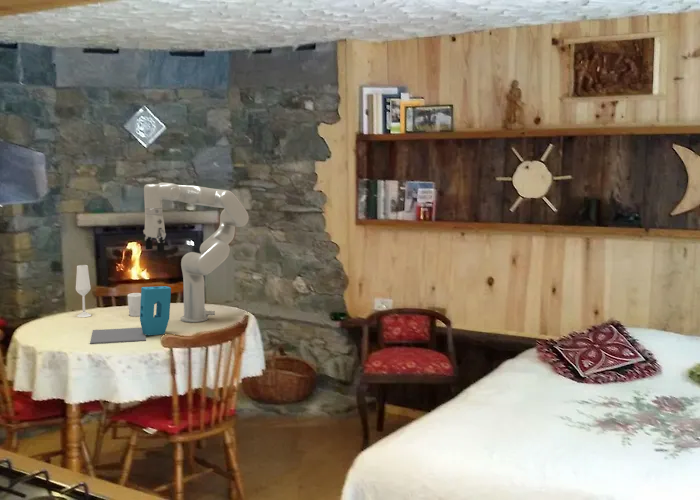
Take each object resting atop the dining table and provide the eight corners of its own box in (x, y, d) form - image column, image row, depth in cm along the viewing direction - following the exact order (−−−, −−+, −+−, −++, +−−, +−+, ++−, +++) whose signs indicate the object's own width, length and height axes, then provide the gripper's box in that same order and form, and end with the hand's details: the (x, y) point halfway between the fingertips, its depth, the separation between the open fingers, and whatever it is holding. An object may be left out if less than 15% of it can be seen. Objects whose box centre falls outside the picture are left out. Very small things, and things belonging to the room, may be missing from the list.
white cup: (148, 314, 365) (148, 294, 364) (136, 317, 359) (135, 296, 357) (137, 312, 369) (136, 292, 368) (124, 315, 363) (123, 294, 361)
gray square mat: (145, 328, 337) (145, 327, 337) (145, 340, 316) (145, 339, 316) (92, 331, 331) (92, 330, 331) (90, 344, 310) (90, 342, 310)
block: (143, 335, 322) (145, 289, 320) (138, 333, 326) (140, 287, 323) (169, 333, 330) (171, 288, 327) (164, 330, 333) (166, 286, 331)
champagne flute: (86, 317, 357) (84, 267, 354) (73, 316, 359) (71, 266, 356) (94, 314, 364) (92, 265, 360) (82, 313, 365) (80, 264, 362)
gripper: (171, 212, 332) (172, 251, 335) (151, 210, 345) (152, 247, 347) (156, 214, 327) (157, 253, 330) (136, 211, 339) (137, 249, 342)
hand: (154, 250), depth 338 cm, fingers open, 9 cm apart
